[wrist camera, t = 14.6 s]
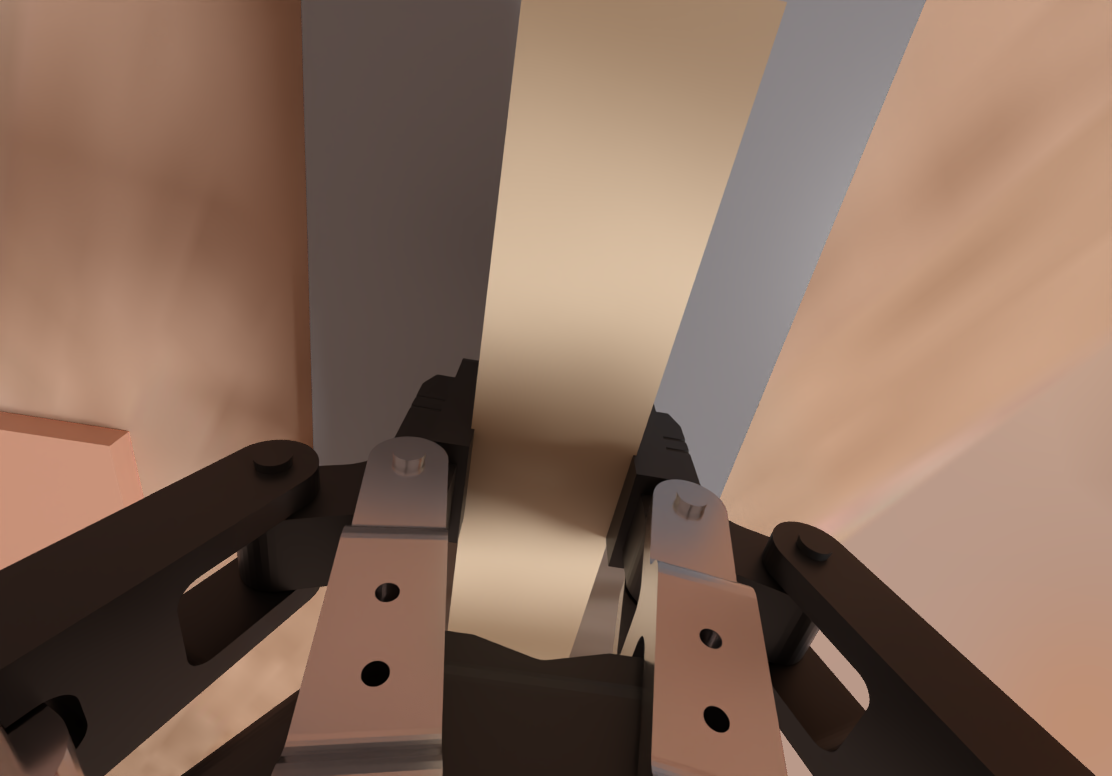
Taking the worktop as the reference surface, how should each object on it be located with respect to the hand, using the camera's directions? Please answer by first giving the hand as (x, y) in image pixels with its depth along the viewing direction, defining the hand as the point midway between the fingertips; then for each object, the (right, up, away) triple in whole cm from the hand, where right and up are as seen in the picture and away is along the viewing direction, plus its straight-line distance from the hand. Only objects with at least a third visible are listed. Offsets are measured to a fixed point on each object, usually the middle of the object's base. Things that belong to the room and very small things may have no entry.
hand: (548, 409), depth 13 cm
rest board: (0, +2, +5) cm, 5 cm away
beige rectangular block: (0, +1, +1) cm, 2 cm away
